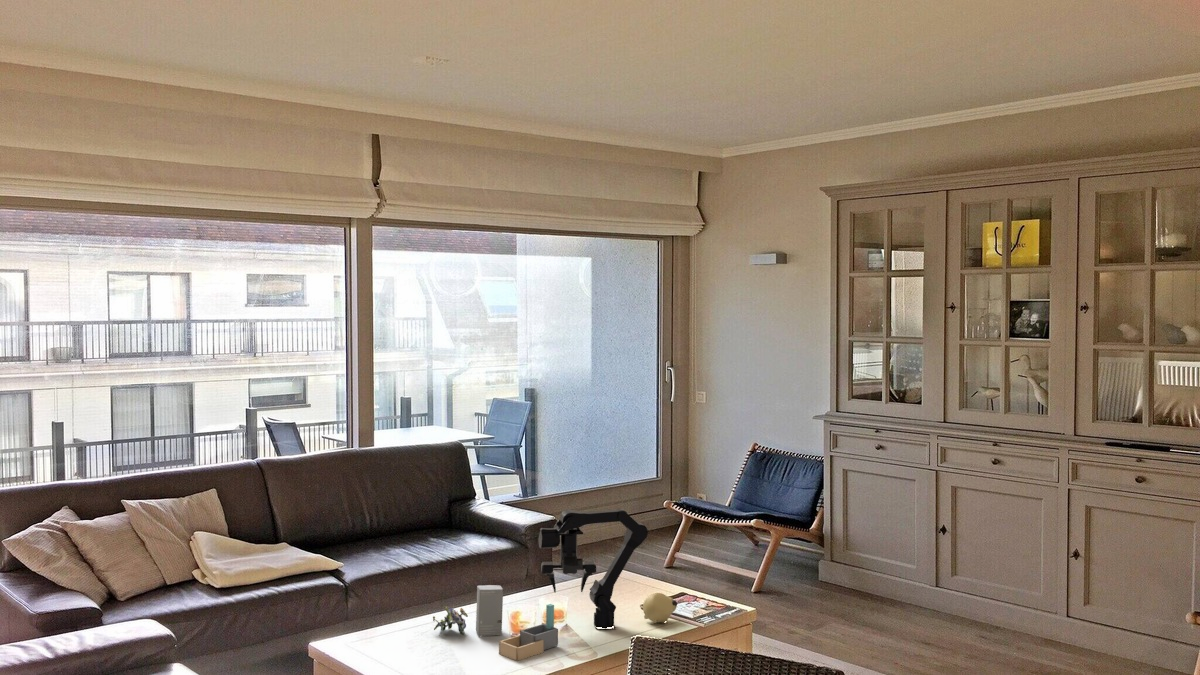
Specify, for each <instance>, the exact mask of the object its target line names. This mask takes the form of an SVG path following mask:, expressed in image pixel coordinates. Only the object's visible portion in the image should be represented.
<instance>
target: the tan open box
mask: <svg viewBox="0 0 1200 675" xmlns="http://www.w3.org/2000/svg"><path fill="white" fill-rule="evenodd" d="M543 641H544V640H540V641H537V642H534V643H530V644H527V645H524V646H521V647H520V634H519V635H516V636H513V637H510V638H505V639H503V640H499V642H498V654H499V655H501V656H504V657H505V658H506V657H507V658H508V659H511V660H514V661H516V662H518V660H519V661H521V659H522V660H525V659H528V658H531V657H534V656H533V655H535V656H538V655H540V653H541V654H543V653H544V650H543ZM537 654H538V655H537ZM530 656H531V657H530ZM527 657H528V658H527ZM524 658H525V659H524Z"/></svg>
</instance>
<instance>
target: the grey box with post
mask: <svg viewBox="0 0 1200 675" xmlns="http://www.w3.org/2000/svg"><path fill="white" fill-rule="evenodd" d="M545 610H546V611H545V615H546V616H545V617H546V618H545V623H541V624H538V625H534V626H532V627H529V628H528V627H527V628H524V629H520V630H519V635H520V647H521V646H524V645H527V644H530V643H534V642H537V641H540V640H544V641H543V651H546V650H548V649H553V648H555V647H558V646H559V628H557V627H555V605H554V604H553V603H550V604H546V608H545Z"/></svg>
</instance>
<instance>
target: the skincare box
mask: <svg viewBox="0 0 1200 675" xmlns="http://www.w3.org/2000/svg"><path fill="white" fill-rule="evenodd" d="M503 601H504V588H503V587H502V586H501V584H500V585H499V584H498V585H497V584H496V585H492V584H487V585H477V586H476V610H475V611H476V612H475V613H476V614H475V616H476V617H475V618H476V619H475V632H476V633H477V635H478V638H479V637H481V638H482V637H491V636H501V635H502V632H503V631H502V630H503V628H502V627H503V605H504V603H503Z"/></svg>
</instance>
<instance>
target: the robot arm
mask: <svg viewBox="0 0 1200 675" xmlns="http://www.w3.org/2000/svg"><path fill="white" fill-rule="evenodd" d="M615 522H616V523H617V522H620V523H621V524H622V525H623V526H624V527H625V528H626V530H625V533H624V538H623V541H622V544H621V546H620V548H619V549H618V551H617V552H616V555H615V557H614V558H613V559H612V562H611V564H610V565H609V567H608V569H607V570H606V572H605V574H604V575H603V576H602V577H603V578H601V579H600V580H599V581H598V580H597V579H595V580H594V581H593V584H592V586H591V587H590V588H589V593H588V595H589V599H590V601H591V602H592V604H594V606H595V612H594V613H593V625H594V627H595V626H596V627H602V628H607V627H612V626H614V627H615V611H616V608H617V606H616V605H615V603H614V602H612V600H611V599H612V596H613V593H614V592H613V591H614V589H615V588H614V586H615V584H616V582H617V581H618V579H619V577H620V575H621V574H622V572H623V570H624V568H625V567H626V565H627V563H628V562H629V560H630V558H631V557H632V555H633V553H634V552H635V550H637V548H638V547H640V546H641V545H642V544H643V543H644V542H645V540H646V539H647V538H648V535H649V529H648V527H647V526H646V525H644V524H643V523H642V522H640V521H638V520H635V519H634V518H632V517H631V516H630V515H629V514H628V513H627V511H626V510H625V509H623V508H617V509H606V510H592V511H583V510H577V509H569V508H568V509H564V510H563V511H562V512H561V513H560V515H559V519H558V520H557V521H556V523H555V525H553V527H552V528H551V527H550V528H546V527H540V528H539V529H540V530H539V534H538V535H539V536H538V547H539V549H557V547H559V546H560V559H559V560H560V564H558V563H557V564H554V562H553V561H542V563H540V564H541V565H540V568H541V574H544V575H545V576H546V577H548V578H549V579H550V580H549V581H551V585H552V589H553V593H556V592H557V589H556V580H555V571H562V573H563V574H564V575H568V574H573V575H577V573H578V571H582V574H581V582H580V593H583V591H584V589H585V586H586V582H587V580H588V578H589V577H590V576H593V574H596V573H597V564H596V562H595V561H594V560H593V561H592V560H589V561H588V560H587V561H585V560H583V558H578V535H584V532H583V531H582V530H581V529H580V528H582V527H583V526H586V525H592V524H603V523H605V524H606V523H615ZM596 627H595V628H596Z"/></svg>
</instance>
